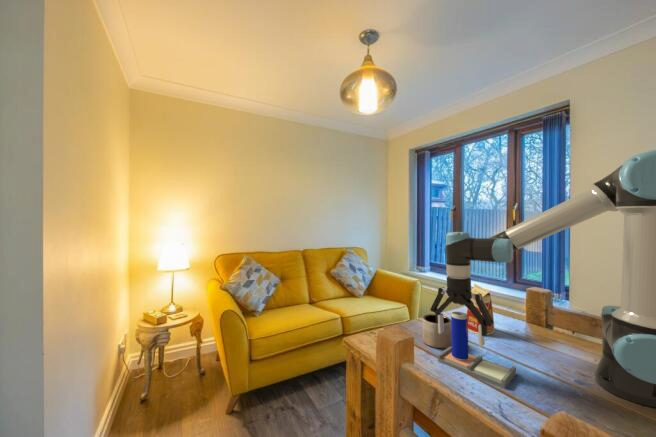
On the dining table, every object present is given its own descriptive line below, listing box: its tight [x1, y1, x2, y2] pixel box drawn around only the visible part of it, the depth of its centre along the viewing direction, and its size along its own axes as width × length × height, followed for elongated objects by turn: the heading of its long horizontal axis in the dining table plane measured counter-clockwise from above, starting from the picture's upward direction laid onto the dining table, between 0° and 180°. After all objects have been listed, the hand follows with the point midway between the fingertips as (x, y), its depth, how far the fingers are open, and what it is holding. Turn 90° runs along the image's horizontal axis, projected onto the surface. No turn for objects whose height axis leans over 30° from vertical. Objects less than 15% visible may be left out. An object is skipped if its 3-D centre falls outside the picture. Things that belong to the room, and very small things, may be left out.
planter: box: [422, 313, 452, 350], centre depth 106 cm, size 11×11×10 cm
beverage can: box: [450, 311, 469, 361], centre depth 92 cm, size 5×5×15 cm
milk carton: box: [465, 283, 495, 336], centre depth 117 cm, size 9×9×20 cm
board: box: [437, 345, 517, 389], centre depth 88 cm, size 20×11×2 cm, turn 40°
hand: (460, 338), depth 92 cm, fingers open, 13 cm apart
